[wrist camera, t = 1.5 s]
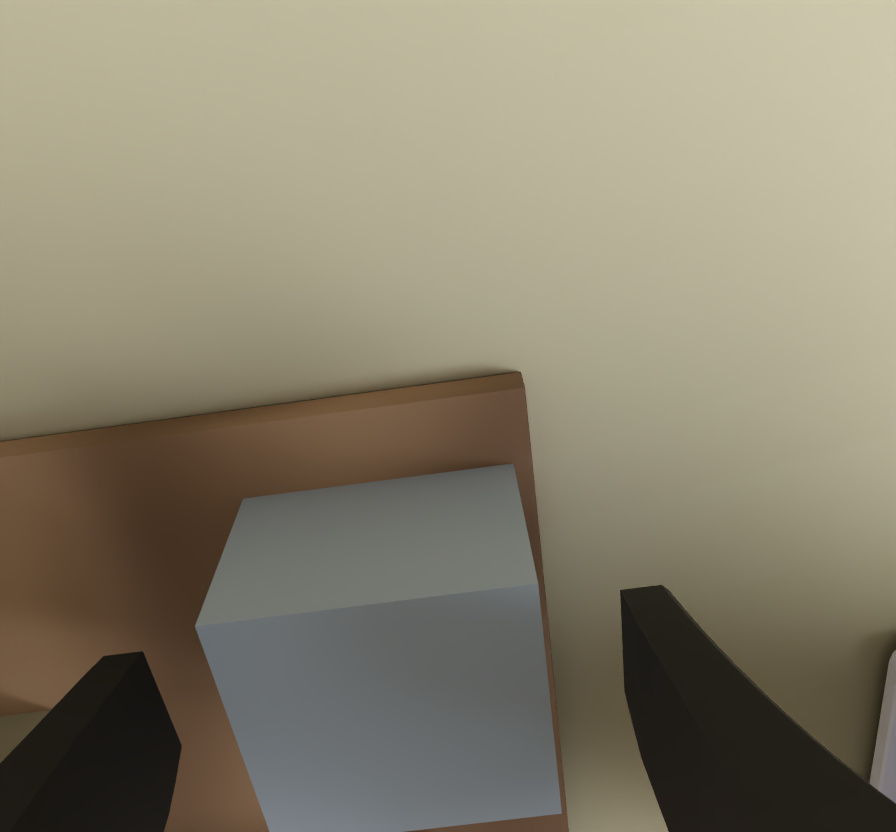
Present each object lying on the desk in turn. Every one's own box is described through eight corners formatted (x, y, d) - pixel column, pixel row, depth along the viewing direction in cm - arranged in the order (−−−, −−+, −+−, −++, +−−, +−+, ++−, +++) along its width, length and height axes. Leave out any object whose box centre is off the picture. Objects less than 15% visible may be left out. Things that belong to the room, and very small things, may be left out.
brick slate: (513, 462, 13) (537, 583, 10) (536, 667, 14) (562, 813, 12) (243, 498, 13) (194, 626, 10) (301, 695, 15) (274, 846, 12)
